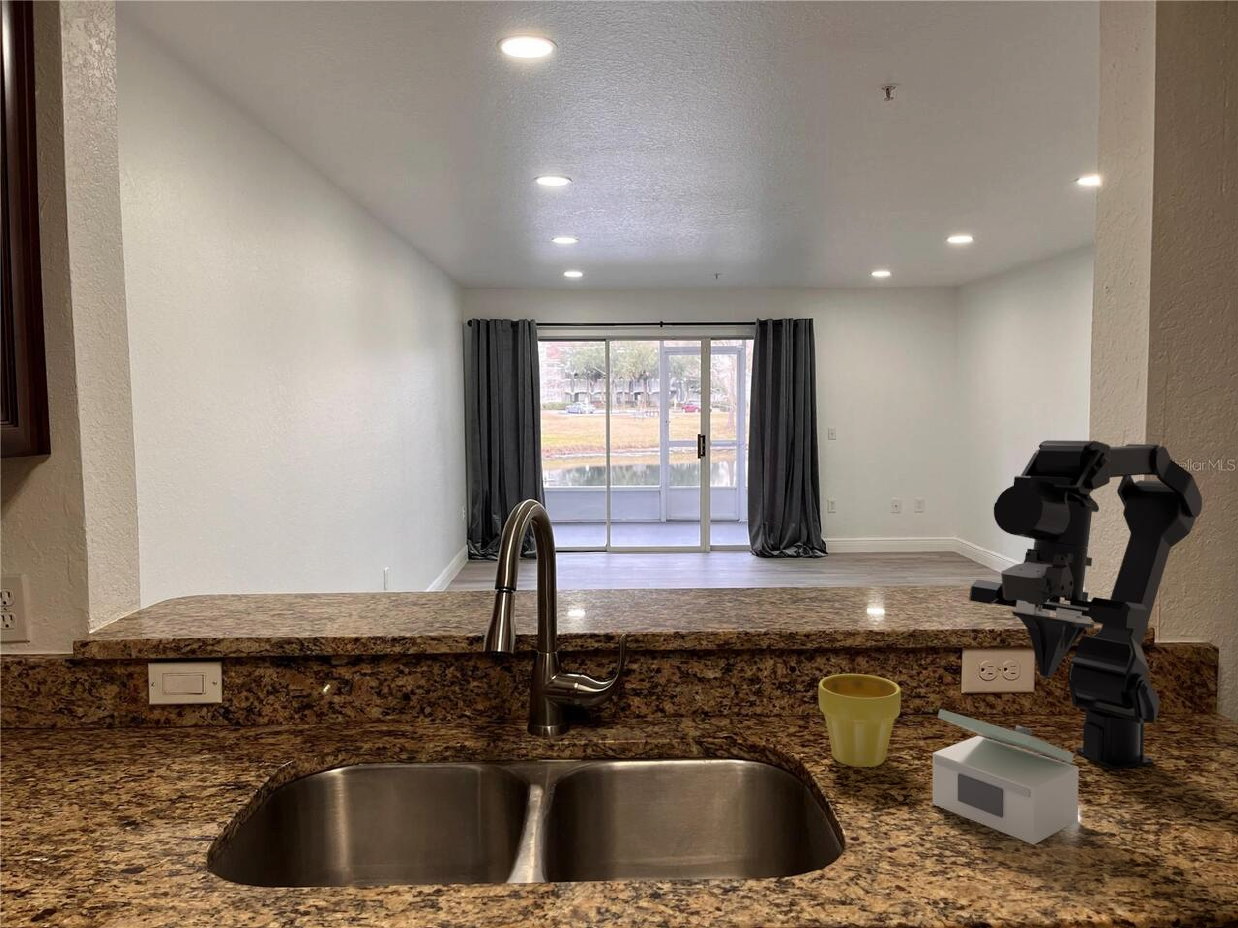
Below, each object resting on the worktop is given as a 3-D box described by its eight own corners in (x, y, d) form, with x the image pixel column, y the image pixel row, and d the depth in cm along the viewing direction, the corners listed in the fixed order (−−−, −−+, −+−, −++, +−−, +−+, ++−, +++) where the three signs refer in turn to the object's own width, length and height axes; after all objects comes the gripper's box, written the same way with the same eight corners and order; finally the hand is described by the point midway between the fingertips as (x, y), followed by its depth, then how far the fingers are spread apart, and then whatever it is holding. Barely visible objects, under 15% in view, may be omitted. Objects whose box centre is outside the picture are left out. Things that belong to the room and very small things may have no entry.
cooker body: (977, 784, 105) (978, 735, 105) (1077, 820, 95) (1078, 766, 95) (930, 804, 99) (931, 753, 99) (1032, 845, 90) (1032, 788, 89)
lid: (983, 735, 104) (986, 720, 104) (1072, 763, 95) (1075, 746, 96) (937, 717, 99) (941, 701, 99) (1027, 744, 90) (1031, 727, 90)
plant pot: (905, 776, 107) (905, 699, 107) (819, 771, 109) (819, 695, 109) (896, 745, 118) (896, 674, 117) (817, 741, 120) (817, 671, 119)
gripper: (951, 529, 106) (935, 657, 105) (1110, 546, 91) (1093, 696, 89) (1001, 539, 112) (986, 660, 111) (1157, 556, 97) (1142, 696, 96)
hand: (1045, 676), depth 102 cm, fingers closed
